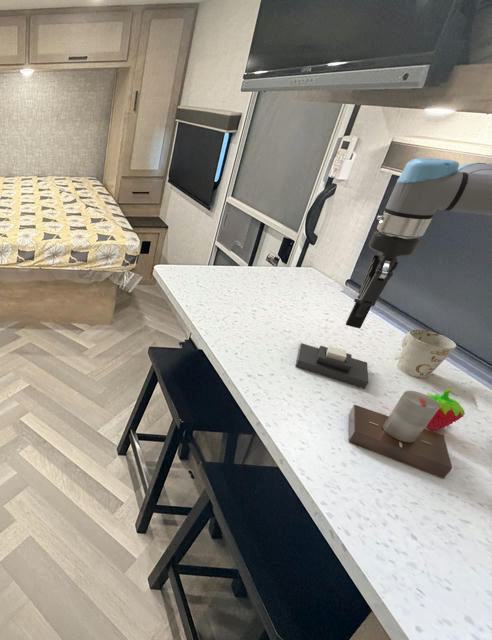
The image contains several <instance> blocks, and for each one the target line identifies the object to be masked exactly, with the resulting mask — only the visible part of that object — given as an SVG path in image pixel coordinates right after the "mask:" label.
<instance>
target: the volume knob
mask: <svg viewBox="0 0 492 640" xmlns="http://www.w3.org/2000/svg"><path fill="white" fill-rule="evenodd" d="M428 395H429V394H426V393H423V392H420V391H415V390H405V391H404V392H403V393H402V394H401V397H400V398H399V400H398V401H397V403H396V404H395V406H394V407H393V409H392V411H391V412H390V413H389V415H388V416H389V417H388V419H387V420H386V422H385V423H384V425H383V429H384V431H385V432H386V433H388V434H389V435H390V436H392V437H394V438H395V439H398V440H400V441H403V442H408V443H413V442H415V441H416V440H417V439H418V437H419V436H420V434H421V433H422V432H423V430H424V429H426V428H427V427H426V426H427V424H428V423H429V422H430V420H431V419H432V417H433V416H434V415H435V413H436V412H437V410H438V409H439V407H440V404H439V403H438V402H437V401H436V400H435V399H433V398H432V397H430V396H428Z"/></svg>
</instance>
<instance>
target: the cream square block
mask: <svg viewBox="0 0 492 640" xmlns="http://www.w3.org/2000/svg"><path fill="white" fill-rule="evenodd" d="M327 348H328V349H327V351H326V357H328V358H332V359H335V360H338V361H342V362H344V361H345V359H346V353H347V350H345V349H342V348H338V347H335V346H331V345H328V347H327Z"/></svg>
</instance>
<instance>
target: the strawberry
mask: <svg viewBox="0 0 492 640" xmlns="http://www.w3.org/2000/svg"><path fill="white" fill-rule="evenodd" d="M452 391H453V389H452V388H447V389H445V390H444V391H443V393H442V394H441V395H438V394H431V393H429V394H427V395H428V396H430V397H432V398H433V399H435V400H436V401H437V402H438V403H439V404H440V407H439V409H438V410H437V412H436V413H435V415H434V416H433V417H432V419H431V420H430V422H429V423H428V424H427V426H426V427H425V428H426V429H427V430H431V431H433V430H441V429H445V428H446V427H449V426H450V425H453V423H456V421H457V422H458V421H459V420H460V419H462V418H464V416H465V414H466V413H465V409H464V408H463V407H462V405H461V404H460V403H459V402H458V401H457V400H455V399H453V398H451V397H450V393H451V392H452Z"/></svg>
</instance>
